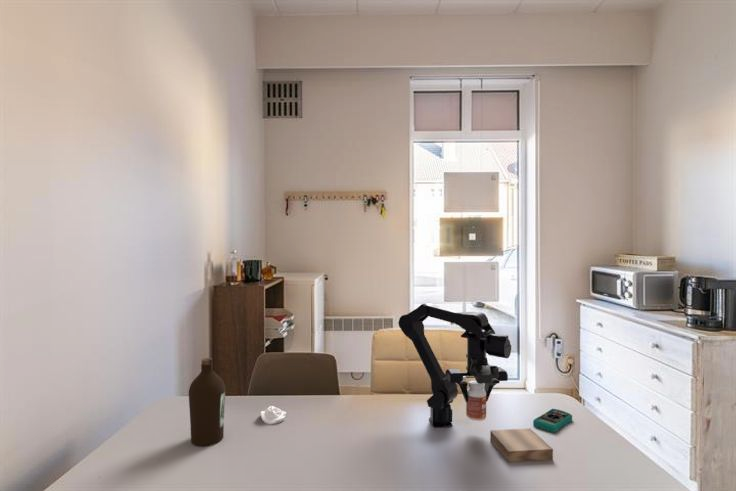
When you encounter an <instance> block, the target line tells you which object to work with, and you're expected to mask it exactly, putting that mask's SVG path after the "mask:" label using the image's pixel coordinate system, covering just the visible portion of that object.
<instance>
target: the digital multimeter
mask: <svg viewBox="0 0 736 491" xmlns="http://www.w3.org/2000/svg"><path fill="white" fill-rule="evenodd" d="M572 421H573V415H572V414H571V413H570V412H567V411H564V410H561V409H556V408H551V409H549V410H548V411H546V412H545V413H543V414H541V415H540V416H537V418H534V419H533V421H532V423H533V424H532V425H533V427H535V428H537V427H538V429H540V430H543V429H544V430H543V431H546V430H547V432H549V431H550V433H553V434H554V433H556V431H557V432H558V431H559V430H560V429H562V428H563V427H564V426H566V425H567V423H568V424H570V423H571V422H572ZM561 427H562V428H561Z"/></svg>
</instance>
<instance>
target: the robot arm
mask: <svg viewBox="0 0 736 491" xmlns="http://www.w3.org/2000/svg"><path fill="white" fill-rule="evenodd" d="M428 317H430V318H434V319H437V320H440V321H443V322H447V323H452V324H455V325H456V326H458V327H460V328H461V330H464V332H463V333H462V334H461V335H460V337H461V338H463V339H466V342H467V343H466V346H467V347H466V348H467V349H466V353H465V358H467V360H466V366H465V370H466V371H461V370H459V369H458V368H447V369H446V370H445V372H444V370H443V368H442V367H441V365H440V363H439V361H438V359H437V357H436V354H435V353H434V350H433V349H432V347H431V345H430V344H429V341H428V339H427V337H426V335H425V325H424V321H425V320H427V318H428ZM398 326H399V328H400V330H401V332H402V333H403V335H405V337H406V338H408V339H409V340H411V342H412V345H413V346H414V348H415V349H416V352H417V354H418V356H419V358H420V360H421V362H422V365H423V366H424V368H425V370H426V372H427V374H428V376H429V379H430V385H431V386H430V387H431V388H430V389H431V392H432V395H431V396H430V397H429V398H427V400H426V403H427V406H428V408H430V414H429V415H430V416H429V417H428V420H429V421H430V423H431V425H432V427H433V428H443V427H453V423H452V422H453V408H452V406H451V404H452V403H453V402H454V400H455V399H456V398H457V397H458V393H459V390H458V387H459V388H460V391H461V392H462V393H461V394H462V395H463V399H464V401H465V403H466V402H468V394H467V389H468V386H469V382H467V381H466V379H475V381H476V382H477V383H479V384H482V383H484V388H483V389H484V390H485V391H486V403H487V402H488V400H489V398H490V395H491V394H492V393H491V392H492V390H493V388H494V387H495V386H496V385H497V384H500V382H507V381H508V380H509V374H508V372H507V371H506V370H505V369H504V368H502V367H500V366H497V365H489V363H488V358H487V355H488V356H491V357H497V358H502V359H509V358H510V356H511V353H512V345H511V341H510V340H509V334H496V332H495V330H494V328H493V327H492V325H491V324H490V322H489V319H488V317H487V315H486V314H485V313H484V312H480V311H461V310H456V309H454V308H453V309H452V308H448V307H444V306H441V305H436V304H434V303H431V302H427V303H422V304H420V305H419V306H418V307H416V308H415V309H413V310H412V311H410V312H408V313H406V314H402V315H401V316H400V318H399V319H398Z"/></svg>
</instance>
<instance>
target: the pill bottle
mask: <svg viewBox="0 0 736 491" xmlns="http://www.w3.org/2000/svg"><path fill="white" fill-rule="evenodd" d="M467 394H468V402H465V403H466V406H465V407H466V408H465V409H466V410H465V411H466V413H465V414H466V415H465V416H466V417H467V418H468V419H469V420H472V421H477V422H481V421H484V420H486V419H487V402H486V391H485V390H484V383H482V384H479V383H477V382H476V380H470V381H468V387H467Z"/></svg>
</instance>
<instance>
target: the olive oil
mask: <svg viewBox="0 0 736 491" xmlns="http://www.w3.org/2000/svg"><path fill="white" fill-rule="evenodd" d="M200 366H201V367H200V368H201V369H200V370H201V371H200V373H199V374H198V375H197V376H196V377H195V378H194V379H193V380H192V381H191V383H190V384H189V385H190V386H189V388H188V406H189V420H190V442H191V444H192V445H193V446H195V447H209V446H212V445H216V444H218V443H220V442H222V440H223V439H224V431H225V430H224V429H225V405H226V385H225V383H224V379H222V378H221V377H220V375H219V374H217V373H216V372H215V371H214V370H213V369H214V364H213V358H212V357H205V358H202V359H201V364H200Z"/></svg>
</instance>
